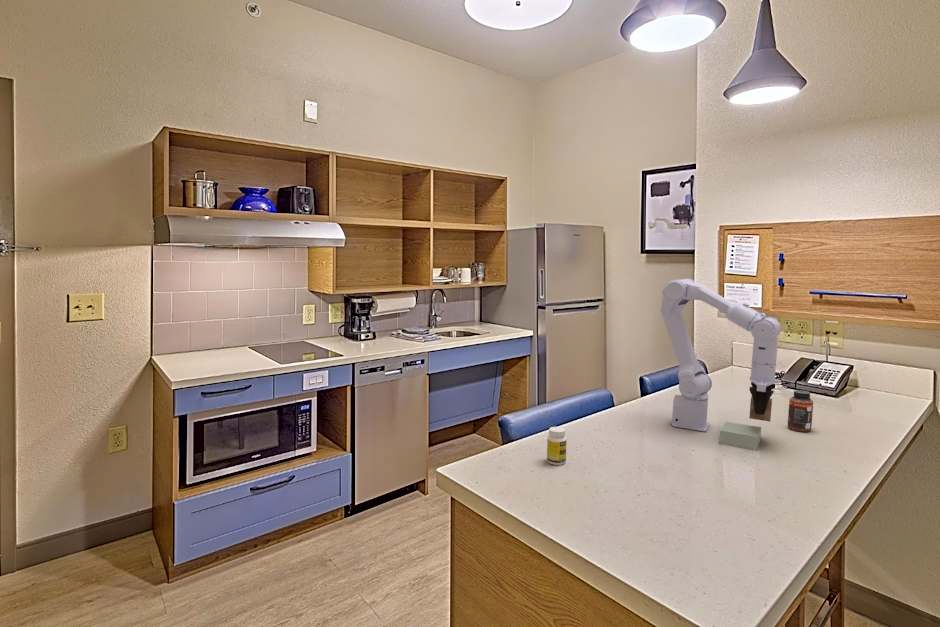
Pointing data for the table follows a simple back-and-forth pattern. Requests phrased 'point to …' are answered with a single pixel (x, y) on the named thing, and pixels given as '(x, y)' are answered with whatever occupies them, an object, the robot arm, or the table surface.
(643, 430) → the table surface
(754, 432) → the sage block
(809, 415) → the supplement bottle
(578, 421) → the table surface
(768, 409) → the walnut cube
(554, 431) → the supplement bottle
